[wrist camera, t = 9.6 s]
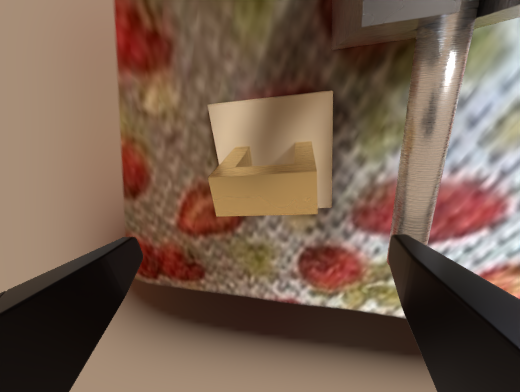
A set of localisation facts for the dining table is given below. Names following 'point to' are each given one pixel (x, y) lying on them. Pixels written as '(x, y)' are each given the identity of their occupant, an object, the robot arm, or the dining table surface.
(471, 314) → the robot arm
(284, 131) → the birch pad
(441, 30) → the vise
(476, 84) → the dining table surface
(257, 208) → the tan u-shaped bracket
